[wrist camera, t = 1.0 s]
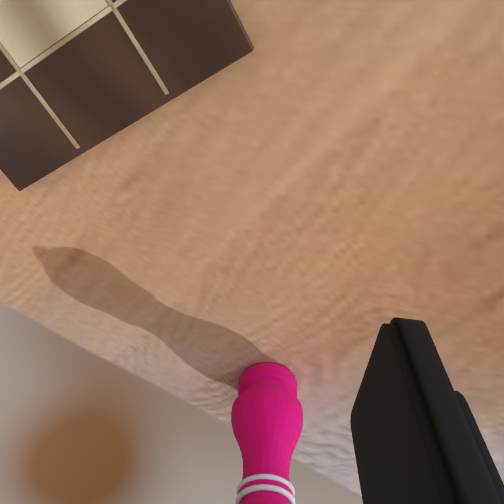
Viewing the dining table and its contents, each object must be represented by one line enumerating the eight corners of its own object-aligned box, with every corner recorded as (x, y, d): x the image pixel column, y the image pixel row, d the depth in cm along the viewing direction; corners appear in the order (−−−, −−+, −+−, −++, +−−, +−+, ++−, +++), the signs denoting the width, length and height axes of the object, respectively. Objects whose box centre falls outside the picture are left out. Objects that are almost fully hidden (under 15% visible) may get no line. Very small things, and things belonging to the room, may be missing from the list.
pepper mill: (221, 375, 49) (192, 587, 32) (277, 348, 47) (277, 561, 30) (259, 413, 52) (251, 626, 35) (313, 389, 50) (333, 605, 32)
